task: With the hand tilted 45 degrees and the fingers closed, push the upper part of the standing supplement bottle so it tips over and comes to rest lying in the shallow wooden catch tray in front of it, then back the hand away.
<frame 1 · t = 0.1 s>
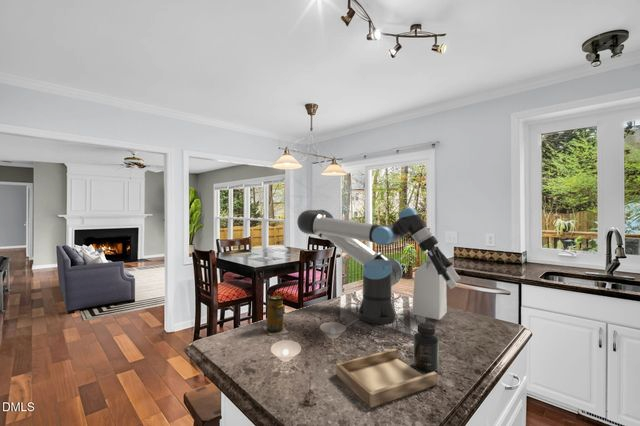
hand: (456, 283, 128), 15 cm above the worktop, tool tilted 35°, fingers open, 13 cm apart
supplement bottle: (425, 367, 91), on the worktop
catch tray: (385, 379, 84), on the worktop
condiment: (275, 330, 117), on the worktop
milk: (429, 313, 138), on the worktop
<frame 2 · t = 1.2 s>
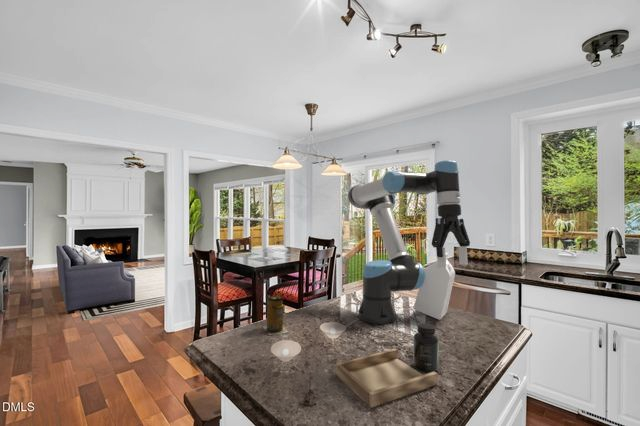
hand: (453, 266, 108), 26 cm above the worktop, tool pointing down, fingers open, 13 cm apart
milk: (430, 310, 138), point 1 cm above the worktop
everything else where it was.
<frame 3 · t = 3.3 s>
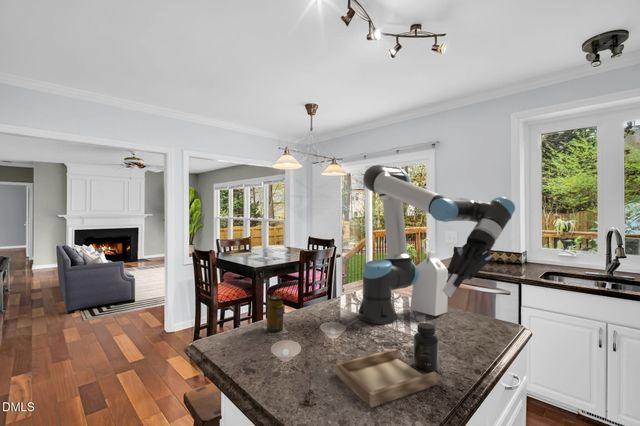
hand: (446, 293, 94), 20 cm above the worktop, tool tilted 45°, fingers closed
milk: (428, 311, 139), on the worktop, touching arm
everything else where it was.
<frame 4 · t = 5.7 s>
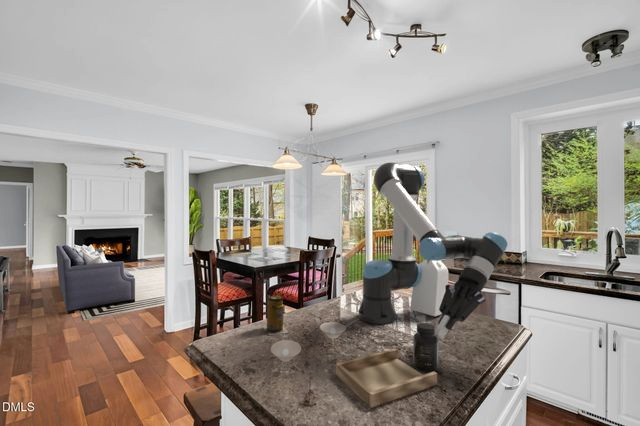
hand: (438, 336, 92), 8 cm above the worktop, tool tilted 45°, fingers closed
supplement bottle: (425, 367, 91), on the worktop, touching gripper
everything else where it was.
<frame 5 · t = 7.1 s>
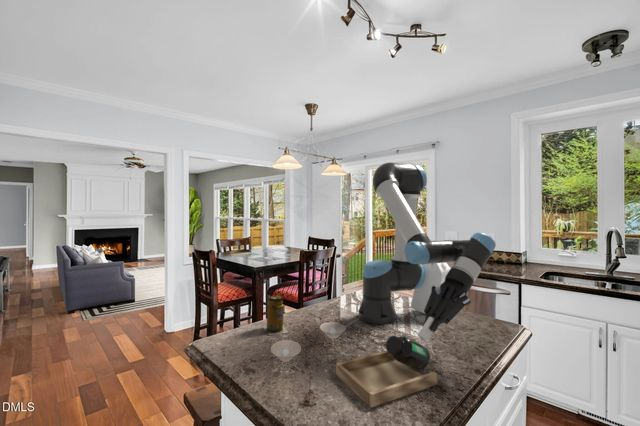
hand: (421, 338, 90), 9 cm above the worktop, tool tilted 45°, fingers closed
supplement bottle: (421, 358, 90), point 3 cm above the worktop
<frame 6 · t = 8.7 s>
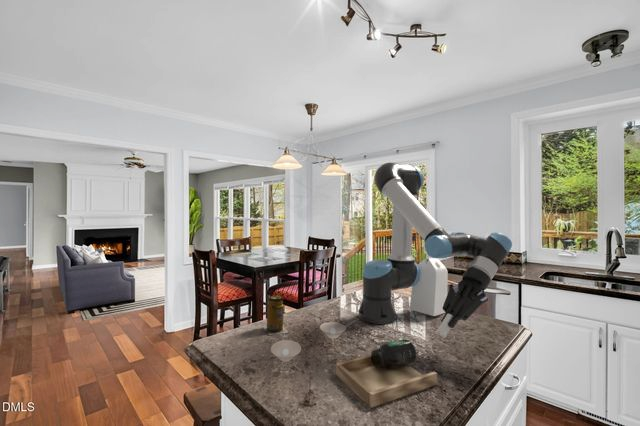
hand: (440, 334, 94), 8 cm above the worktop, tool tilted 45°, fingers closed
supplement bottle: (409, 351, 92), point 4 cm above the worktop, touching catch tray
milk: (428, 311, 139), on the worktop
everything else where it was.
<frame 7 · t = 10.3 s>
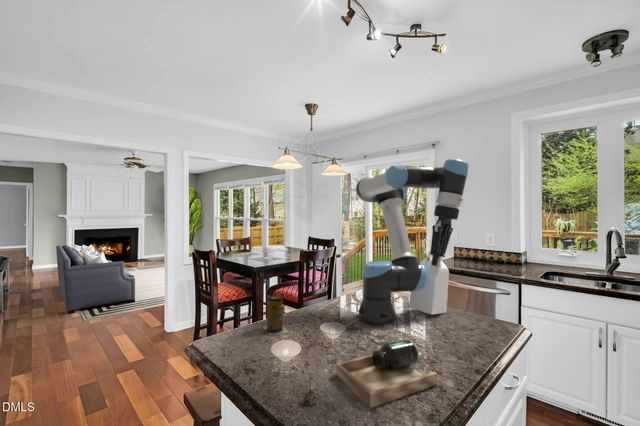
hand: (433, 274, 107), 23 cm above the worktop, tool pointing down, fingers closed
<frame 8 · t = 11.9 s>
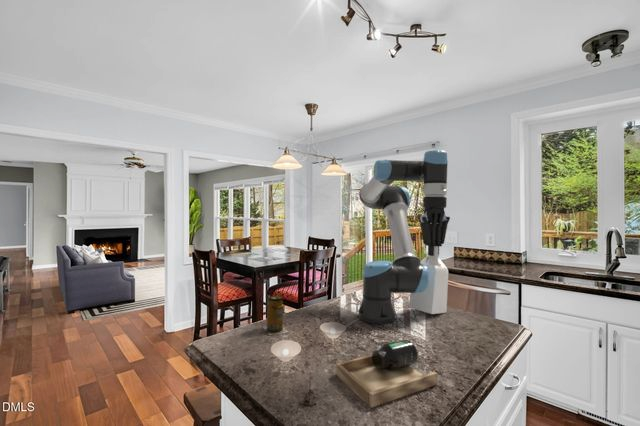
hand: (433, 264, 108), 26 cm above the worktop, tool pointing down, fingers closed
milk: (427, 310, 140), point 1 cm above the worktop, touching arm
everything else where it was.
at the end: supplement bottle tilted 90°; supplement bottle 11.9 cm from the catch tray (horizontally); supplement bottle point 3.8 cm above the worktop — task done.
